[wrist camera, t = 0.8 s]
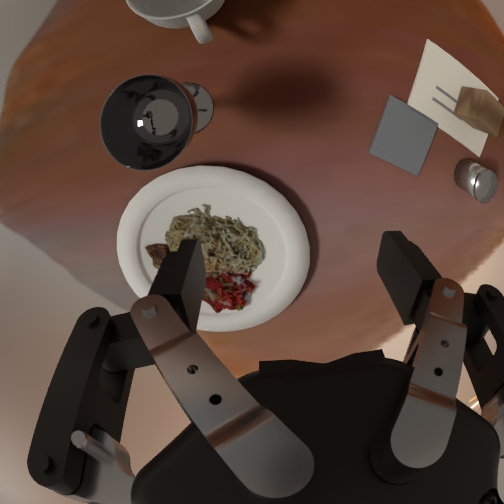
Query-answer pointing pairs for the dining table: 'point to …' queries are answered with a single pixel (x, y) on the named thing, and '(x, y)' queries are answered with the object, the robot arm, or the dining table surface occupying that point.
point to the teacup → (179, 14)
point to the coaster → (403, 136)
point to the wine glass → (152, 120)
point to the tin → (476, 180)
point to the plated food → (219, 242)
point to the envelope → (445, 95)
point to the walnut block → (479, 110)
